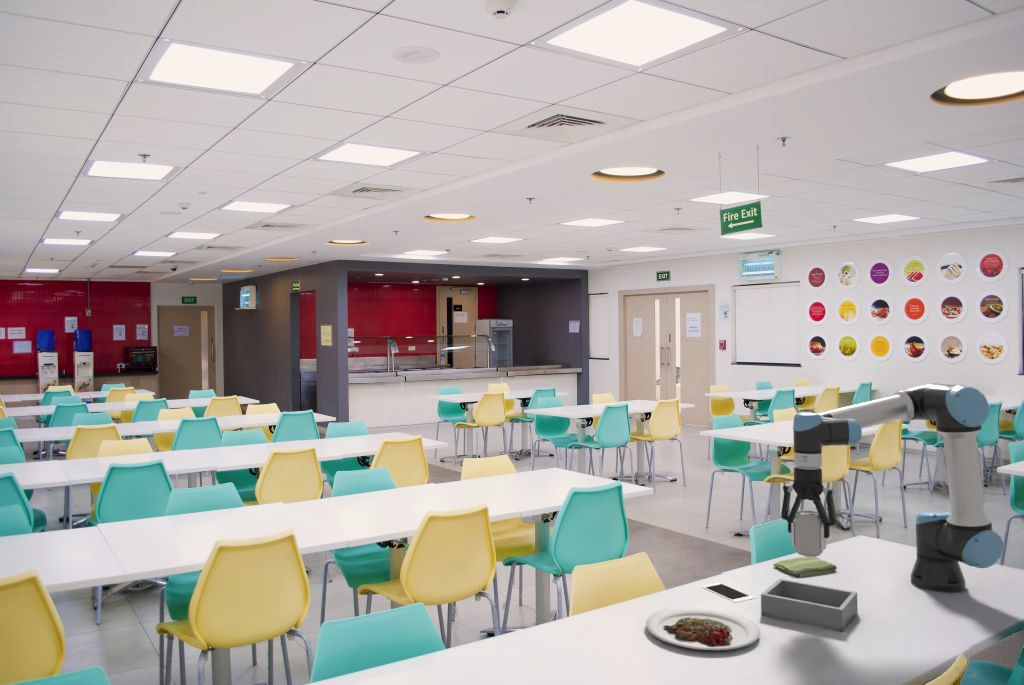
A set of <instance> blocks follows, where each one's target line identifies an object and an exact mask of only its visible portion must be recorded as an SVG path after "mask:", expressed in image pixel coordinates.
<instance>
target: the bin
mask: <svg viewBox="0 0 1024 685" xmlns="http://www.w3.org/2000/svg"><path fill="white" fill-rule="evenodd" d="M760 611H761V612H760V615H761V616H763V617H768V618H773V619H779V620H781V621H782V620H783V621H788V622H793V623H798V624H802V625H807V626H810V627H811V626H812V627H817V628H820V629H825V628H826V630H830V631H834V632H840V633H844V631H845V630H846V629H847V628H848V626H849V625H850V624H849V623H851V622H852V621H853V620H854V619H855V617H856V616H857V615H858V592H856V591H852V590H846V589H842V588H841V589H840V588H835V587H830V586H823V585H818V584H812V583H808V582H807V583H806V582H802V581H801V582H800V581H794V580H790V579H789V580H788V579H785V578H784V579H783V578H779V579H777V580H776V581H775V582H774V583H772V585H770V586H768V588H767V589H765V590H764V591H763V592H762V593H761V594H760ZM856 614H857V615H856ZM855 615H856V616H855ZM852 619H853V620H852ZM851 620H852V621H851ZM848 624H849V625H848Z"/></svg>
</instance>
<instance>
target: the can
mask: <svg viewBox="0 0 1024 685" xmlns="http://www.w3.org/2000/svg"><path fill="white" fill-rule="evenodd" d="M794 521H795V545H794V551H795V552H797V554H798V555H800V556H802V557H805V556H808V557H820V555H821V554H823V552H824V550H821V526H822V525H823V523H822V521H821V518H820V516H819V513H818V511H815V510H806V509H805V510H804V509H803V510H798V511H797V513H796V516H795V518H794Z"/></svg>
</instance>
